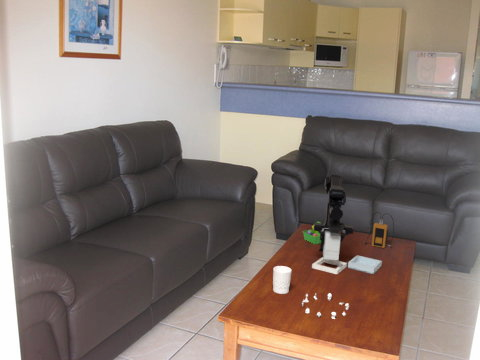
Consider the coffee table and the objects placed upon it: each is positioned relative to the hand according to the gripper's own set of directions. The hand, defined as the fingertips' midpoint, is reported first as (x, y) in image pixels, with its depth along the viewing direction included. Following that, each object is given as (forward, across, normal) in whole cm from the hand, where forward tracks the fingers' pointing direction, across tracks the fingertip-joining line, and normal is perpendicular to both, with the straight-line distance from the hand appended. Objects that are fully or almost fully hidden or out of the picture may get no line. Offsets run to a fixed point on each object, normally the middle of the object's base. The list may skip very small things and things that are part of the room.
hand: (331, 244), depth 259 cm
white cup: (+12, -23, -34) cm, 43 cm away
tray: (+12, +18, +5) cm, 22 cm away
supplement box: (+7, 0, 0) cm, 7 cm away
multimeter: (+12, +31, +44) cm, 55 cm away
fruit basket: (+12, -6, +40) cm, 42 cm away
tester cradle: (+12, 0, 0) cm, 12 cm away
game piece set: (+12, -5, -48) cm, 49 cm away
